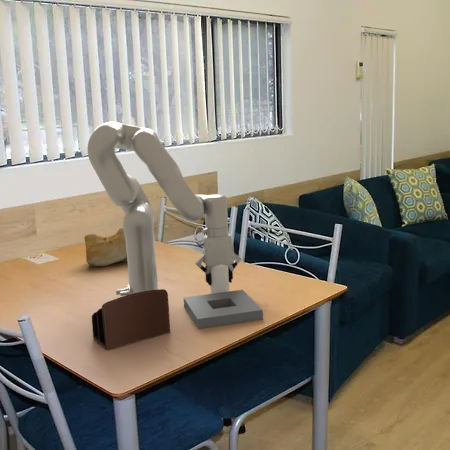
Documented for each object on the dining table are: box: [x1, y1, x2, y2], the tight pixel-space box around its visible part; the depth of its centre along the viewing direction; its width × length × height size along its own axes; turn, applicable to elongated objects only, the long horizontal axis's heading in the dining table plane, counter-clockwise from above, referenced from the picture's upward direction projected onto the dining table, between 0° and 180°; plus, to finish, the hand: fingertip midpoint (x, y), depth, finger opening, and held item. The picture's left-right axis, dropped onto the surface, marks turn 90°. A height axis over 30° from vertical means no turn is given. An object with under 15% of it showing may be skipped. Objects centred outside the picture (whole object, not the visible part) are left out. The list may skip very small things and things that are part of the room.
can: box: [209, 264, 230, 294], centre depth 197 cm, size 6×6×12 cm
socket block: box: [183, 289, 264, 329], centre depth 181 cm, size 20×20×3 cm
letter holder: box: [91, 288, 171, 351], centre depth 165 cm, size 10×20×14 cm, turn 123°
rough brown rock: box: [84, 227, 127, 267], centre depth 244 cm, size 23×17×15 cm
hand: (219, 282), depth 198 cm, fingers closed on can, 6 cm apart
